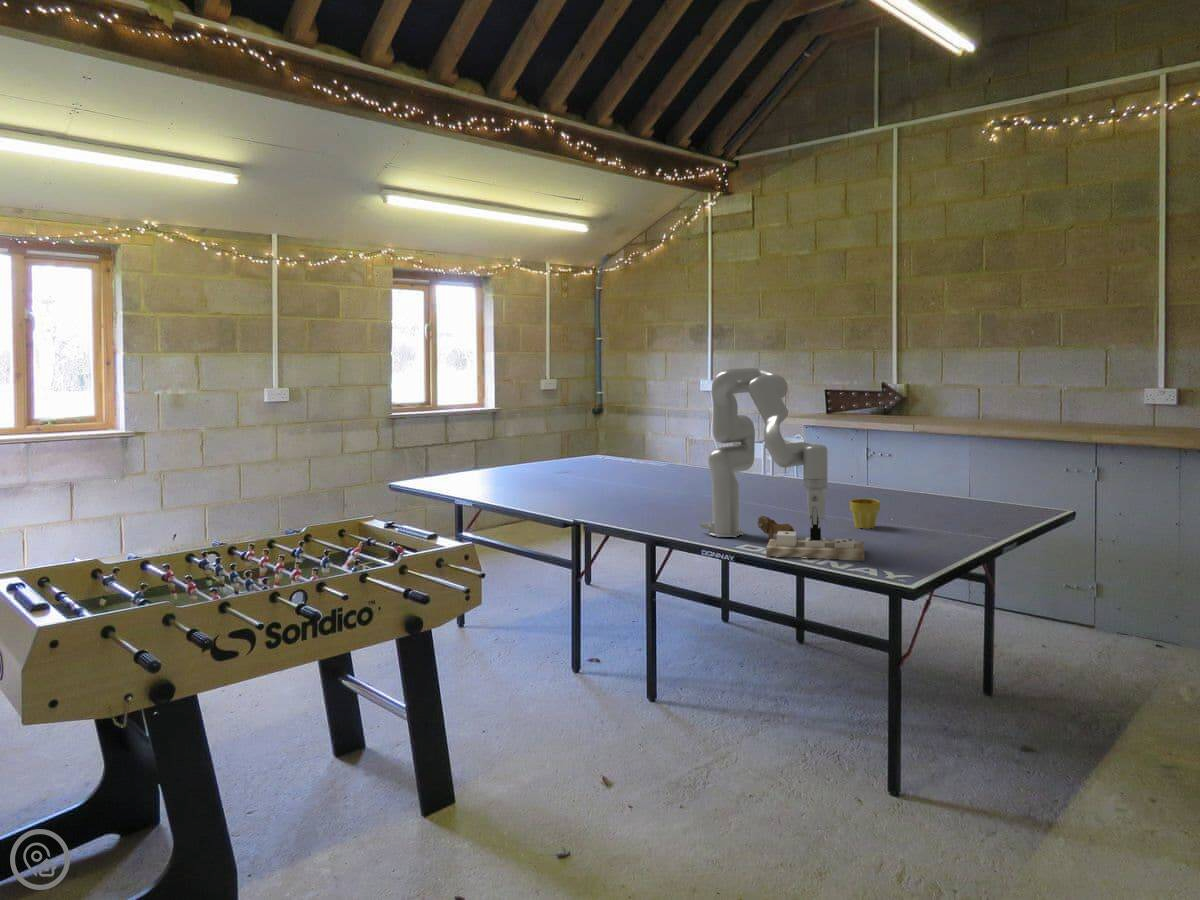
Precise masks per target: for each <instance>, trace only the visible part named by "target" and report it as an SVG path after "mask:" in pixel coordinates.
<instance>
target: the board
mask: <svg viewBox="0 0 1200 900" xmlns="http://www.w3.org/2000/svg"><path fill="white" fill-rule="evenodd" d="M768 541H769V542H768ZM768 541H767V545H766V547H765V551H766V553H765V554H766V555H767V556H779V557H807V558H827V559H826V560H830V559H839V560H838V561H857V562H858V561H859V562H860V561H863V562H865V545H864V543H865V542H864V541H854V549H852V548H834V543H835V540H825V548H822V547H805V541H806V539H797V545H796V547H793V546H777V538H773V539H770V540H769V539H768ZM766 555H765V556H766Z"/></svg>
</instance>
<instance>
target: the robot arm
mask: <svg viewBox="0 0 1200 900" xmlns="http://www.w3.org/2000/svg"><path fill="white" fill-rule="evenodd" d="M788 389H789V386H788V383H787V381H786V379H785V378H784V377H783V376H782V375H779V374H777V373H774V372H770V371H767V370H764V369H761V368H756V367H747V368H746V367H745V368H744V367H743V368H740V367H739V368H729V369H725V370H722V371H720V372H719V373H717V374H716V376H714V378H713V380H712V384H711V394H712V395H711V396H712V402H713V403H712V404H713V405H712V406H713V411H712V412H713V413H712V414H713V418H712V421H713V422H712V423H713V424H712V433H713V438H714V440H715V441H716V442H717V443H719V444H732V443H733V445H728V446H721V447H718V448H716V449H714V450H712V451H711V453H709V456H708V466H709V467H708V468H709V472H710V478H711V503H712V504H711V507H712V509H711V510H712V520H711V521H709V522H700V526H699V527H700V528H701V529H703V530H706V529H709V530H708V531H707V533H708V535H709V534H710V535H713V536H720V537H733V536H738V535H742V534H743V533H744V530H743V529H741V528H740V494H739V493H740V488H739V482H738V479H737V477H736V475H735V473H738V472H745V471H748V470H749V469H751V468H752V467H753V465H754V462H755V451H756V450H755V449H756V448H755V447H756V446H755V444H756V443H755V442H756V440H755V439H756V438H755V437H756V432H755V431H756V429H755V425H754V423H753V421H752V419H751V418H750V417H749V416H747V415H744V414H738V413H739V411H738V410H739V408H738V407H739V405H738V402H737V399H736V397H735V395H734V394H743V393H744V394H745V393H746V394H747V393H749V395H750V398H751V399H752V401H753V403H754V406H756V408H757V410H758V412H759V415H760V416H761V417H762V420H763V421H764V430H763V438H764V439H763V440H764V441H763V442H764V446H765V447H766V450H767V451H768V453H769V455H770V458H771V459H772V460H773V462H774V463H775V464H776V465H777V466H778V467H780V468H785V469H786V468H793V467H797V466H798V467H799V466H803V467H802V471H803V472H802V474H803V476H802V477H803V478H802V482H803V484H802V485H803V486H802V487H803V489H805V490H806V494H807V495H806V497H807V498H806V499H807V500H806V503H807V504H806V505H807V516H808V519H809V521H810V529H809V531H810V536H809V537H810V540H821V538H822V534H821V533H822V527H821V521H824V520H825V517H826V514H825V513H826V512H825V511H826V508H825V506H826V505H825V504H826V503H825V502H826V501H825V499H826V497H825V495H826V494H825V490H827V489H828V448H827V446H826V445H822V444H811V443H808V442H804V441H803V442H802V441H799V442H792V443H791V442H790V443H786V441H785V440H784V439H783V436H782V433H781V430H780V428H781V427H780V425H781V424H782V423H783V422H784V421H785V420H786V419H787V418H788V416H789V409H788V408H787V406H786V404H785V403H784V401H783V398H785V397H786V395H787V394H788V392H789V391H788ZM710 535H709V536H710ZM743 535H744V534H743ZM743 535H742V536H743Z"/></svg>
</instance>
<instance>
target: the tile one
mask: <svg viewBox="0 0 1200 900" xmlns="http://www.w3.org/2000/svg"><path fill="white" fill-rule="evenodd" d="M797 533H798V532H797V531H794V532H791V531H778V533H777V534H776V539H777V546H793V547H796V545H797V540H798V539H797V537H798V535H797Z"/></svg>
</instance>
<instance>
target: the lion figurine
mask: <svg viewBox="0 0 1200 900" xmlns="http://www.w3.org/2000/svg"><path fill="white" fill-rule="evenodd" d="M757 527H758V528H759V530H760V531H762V532H763V533H764V534H767V535H768V538H769V539H774V535H777V533H778V531H791V532H795V529H794V527H793V526H792V525H791V524H788V523H783V524H781V523H777V522H776V521H775V520H774V519H773V518H772V519H771V518H770V517H768V516H765V515H761V516H759V517H758V518H757ZM769 539H768V540H769Z"/></svg>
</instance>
